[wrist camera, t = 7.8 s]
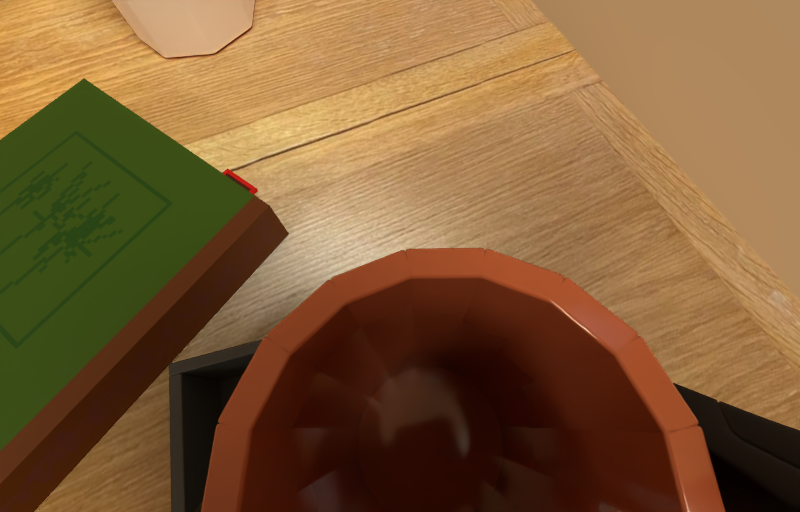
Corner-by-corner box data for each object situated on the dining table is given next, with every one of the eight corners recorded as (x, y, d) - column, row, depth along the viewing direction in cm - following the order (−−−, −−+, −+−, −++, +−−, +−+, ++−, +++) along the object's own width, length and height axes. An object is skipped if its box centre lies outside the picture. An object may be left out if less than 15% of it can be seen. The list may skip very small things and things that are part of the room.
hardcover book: (-40, 591, 19) (-140, 628, 16) (-191, 364, 24) (-293, 355, 21) (295, 225, 27) (277, 196, 23) (127, 110, 31) (92, 72, 28)
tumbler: (481, 572, 13) (701, 1083, 3) (320, 489, 14) (87, 653, 4) (529, 394, 15) (751, 339, 5) (387, 335, 16) (340, 196, 6)
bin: (471, 614, 18) (488, 674, 14) (234, 691, 17) (175, 779, 13) (396, 325, 24) (391, 304, 19) (214, 374, 23) (168, 363, 19)
